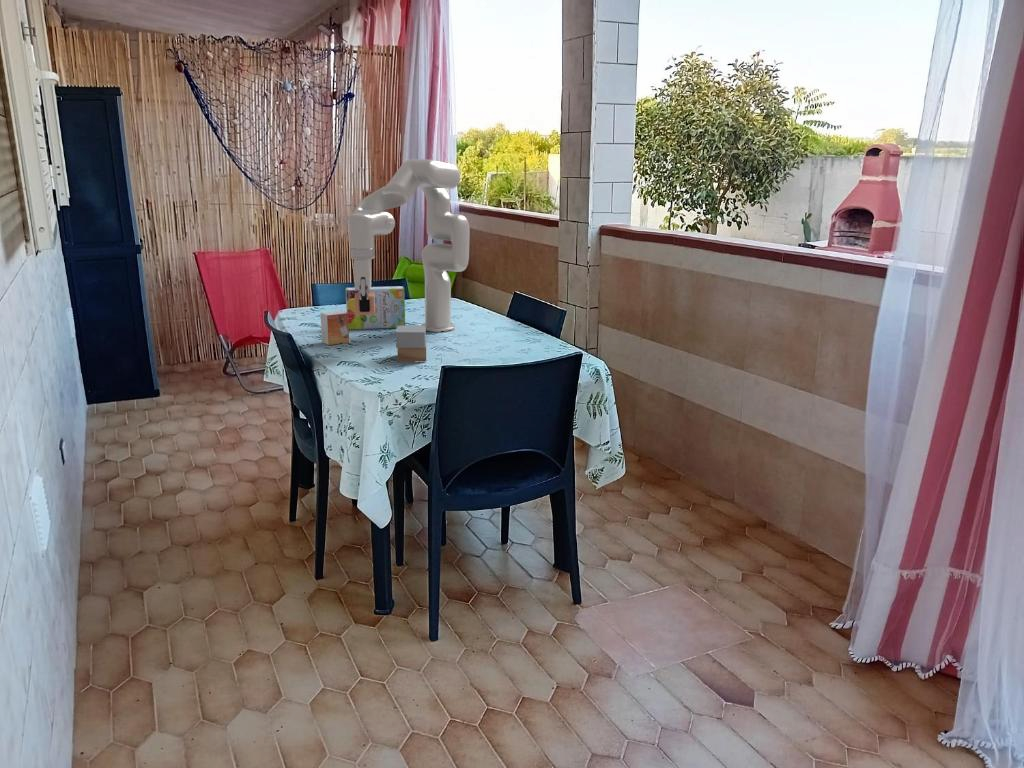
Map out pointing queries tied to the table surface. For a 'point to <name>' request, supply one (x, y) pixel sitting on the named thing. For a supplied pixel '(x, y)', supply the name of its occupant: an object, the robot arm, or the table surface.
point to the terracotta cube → (372, 304)
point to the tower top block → (410, 336)
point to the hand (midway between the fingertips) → (365, 308)
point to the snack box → (378, 308)
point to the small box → (335, 327)
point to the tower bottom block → (411, 354)
